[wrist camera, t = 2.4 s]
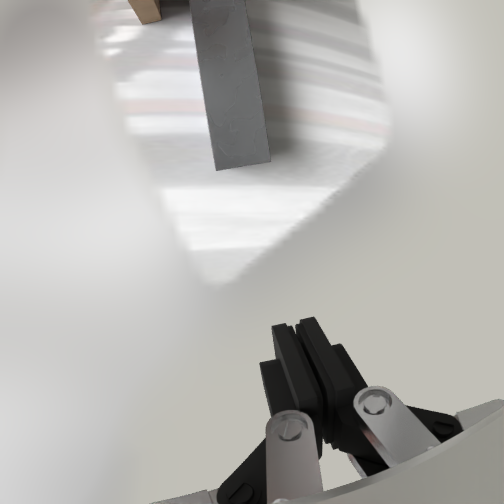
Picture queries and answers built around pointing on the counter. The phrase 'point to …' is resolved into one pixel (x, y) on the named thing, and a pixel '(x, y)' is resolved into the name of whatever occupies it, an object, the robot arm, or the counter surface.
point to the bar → (229, 83)
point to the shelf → (146, 10)
